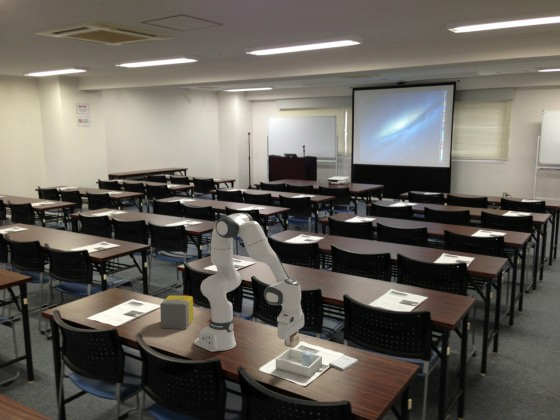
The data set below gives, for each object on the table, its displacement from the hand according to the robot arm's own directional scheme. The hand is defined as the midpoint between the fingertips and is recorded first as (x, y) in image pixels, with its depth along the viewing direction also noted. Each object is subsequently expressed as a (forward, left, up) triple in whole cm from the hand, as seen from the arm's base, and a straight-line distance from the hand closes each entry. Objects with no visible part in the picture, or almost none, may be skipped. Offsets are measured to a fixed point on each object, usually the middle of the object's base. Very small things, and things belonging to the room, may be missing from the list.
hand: (291, 341), depth 220 cm
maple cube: (0, 0, -2) cm, 2 cm away
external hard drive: (+21, +15, -13) cm, 28 cm away
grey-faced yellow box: (-84, +15, -12) cm, 86 cm away
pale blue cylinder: (+8, 0, -11) cm, 14 cm away
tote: (+4, 0, -12) cm, 13 cm away
